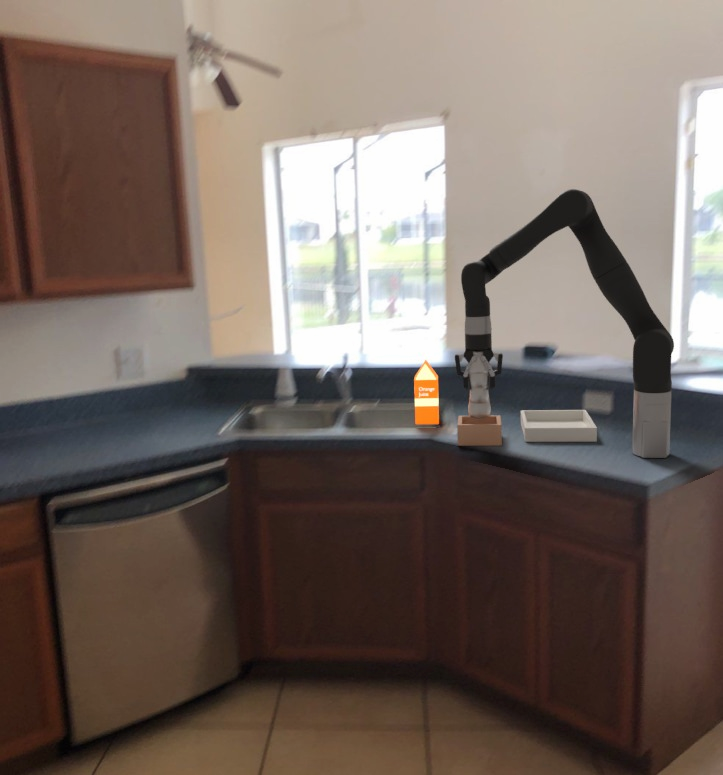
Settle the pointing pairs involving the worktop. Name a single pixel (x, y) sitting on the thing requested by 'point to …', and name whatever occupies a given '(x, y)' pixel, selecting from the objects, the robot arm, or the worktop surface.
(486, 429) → the terracotta holder
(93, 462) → the worktop surface
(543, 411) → the plastic tray
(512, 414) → the worktop surface
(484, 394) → the plastic bottle
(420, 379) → the orange juice
